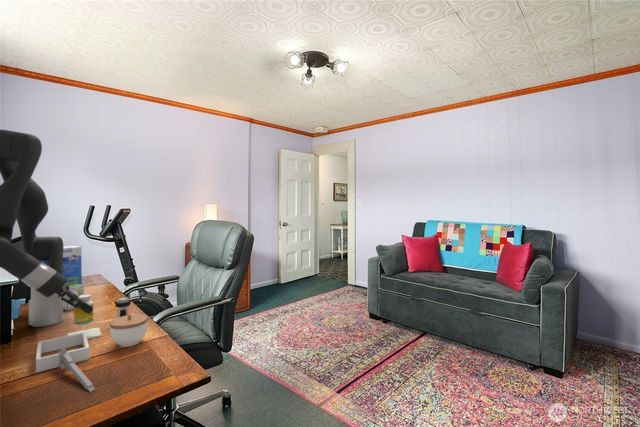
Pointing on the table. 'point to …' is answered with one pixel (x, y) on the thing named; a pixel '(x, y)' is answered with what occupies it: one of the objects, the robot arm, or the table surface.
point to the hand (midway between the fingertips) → (90, 308)
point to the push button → (122, 306)
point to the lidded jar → (128, 329)
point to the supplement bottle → (80, 315)
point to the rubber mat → (89, 333)
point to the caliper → (73, 369)
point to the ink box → (76, 287)
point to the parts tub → (56, 344)
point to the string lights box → (71, 263)
